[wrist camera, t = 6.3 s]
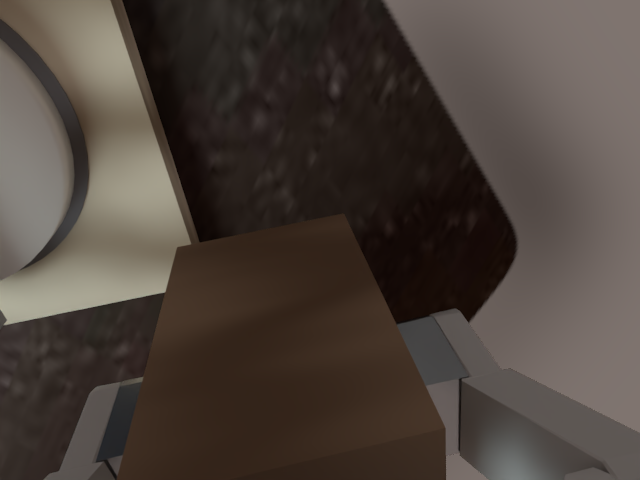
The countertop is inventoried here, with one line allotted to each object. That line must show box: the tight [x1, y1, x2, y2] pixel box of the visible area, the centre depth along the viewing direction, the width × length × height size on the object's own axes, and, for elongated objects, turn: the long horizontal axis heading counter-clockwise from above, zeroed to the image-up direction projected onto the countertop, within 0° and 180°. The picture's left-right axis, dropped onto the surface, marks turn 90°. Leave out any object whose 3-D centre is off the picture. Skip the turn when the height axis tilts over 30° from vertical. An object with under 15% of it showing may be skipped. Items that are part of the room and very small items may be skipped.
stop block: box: [117, 213, 446, 480], centre depth 8 cm, size 4×4×6 cm
